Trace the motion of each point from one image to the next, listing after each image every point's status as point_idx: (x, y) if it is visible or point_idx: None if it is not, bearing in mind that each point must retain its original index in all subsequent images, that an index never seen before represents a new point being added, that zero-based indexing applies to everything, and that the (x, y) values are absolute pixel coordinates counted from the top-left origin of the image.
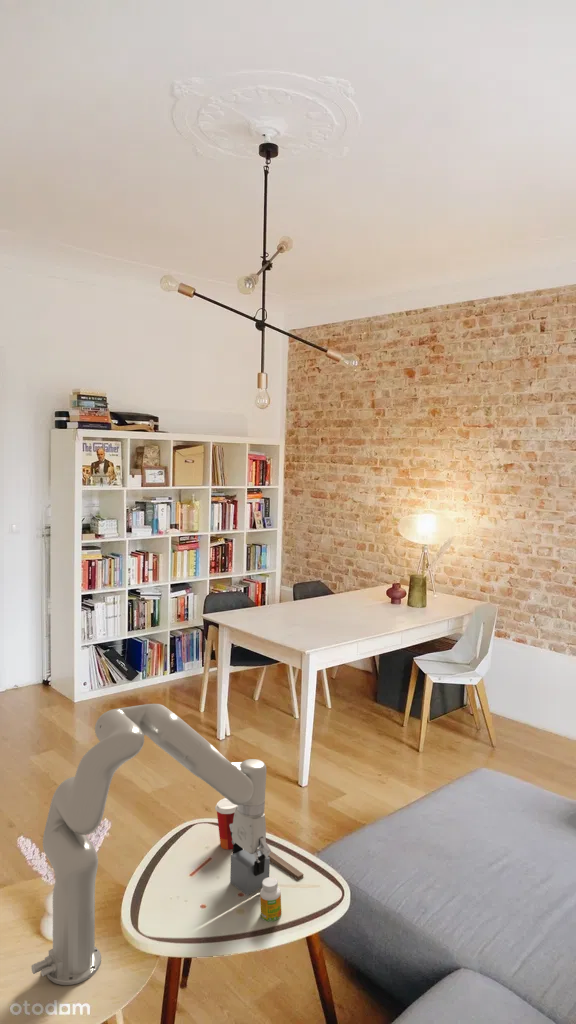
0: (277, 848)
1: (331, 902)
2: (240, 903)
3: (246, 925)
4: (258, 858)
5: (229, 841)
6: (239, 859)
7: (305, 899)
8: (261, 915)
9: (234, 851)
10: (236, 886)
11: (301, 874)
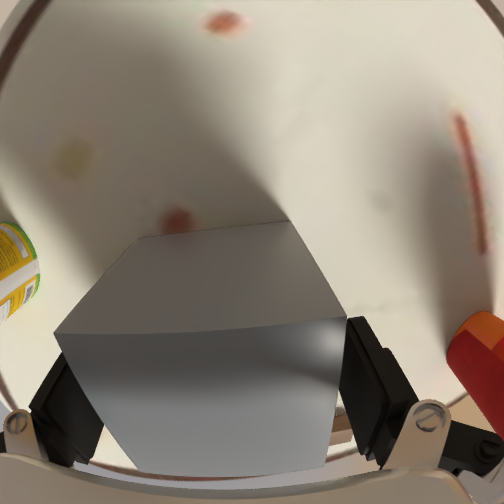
0: (338, 451)
1: None
2: (116, 185)
3: (3, 147)
4: (6, 438)
5: (480, 352)
6: (214, 350)
7: None
8: (5, 224)
9: (368, 365)
10: (231, 230)
11: None
